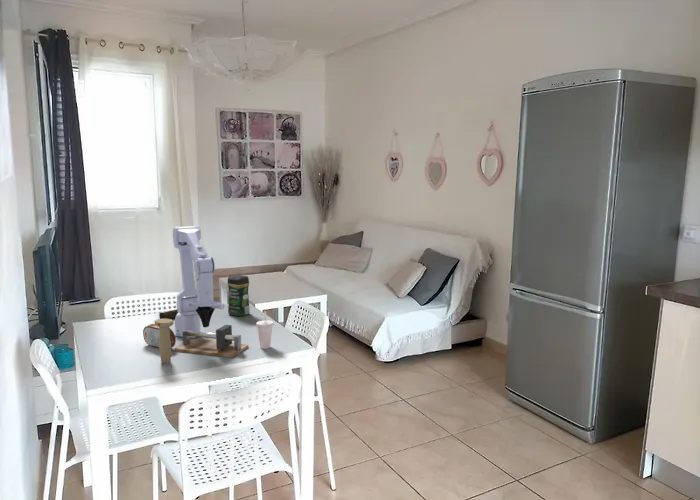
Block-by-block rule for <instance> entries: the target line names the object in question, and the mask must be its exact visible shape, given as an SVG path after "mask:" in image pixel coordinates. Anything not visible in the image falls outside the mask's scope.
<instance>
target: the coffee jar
mask: <svg viewBox="0 0 700 500" xmlns="http://www.w3.org/2000/svg"><path fill="white" fill-rule="evenodd" d="M249 286H250V278H249V276H247V275H242V274H235V273H234V274H231V275H228V277H227V288H228V304H227V305H228V306H227V307H228V308H227V311H228V312H227V313H228V314H229V315H231V316H235V317H244V316H245V317H246V316H248V315H249V314H250V313H251V312H250V311H251V310H250V301H249V300H250V299H249V298H250V297H249Z"/></svg>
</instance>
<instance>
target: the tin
mask: <svg viewBox="0 0 700 500" xmlns="http://www.w3.org/2000/svg"><path fill="white" fill-rule="evenodd" d="M142 335H143V340H144V341H145V343H146V345H148V346H149V347H153V348H158V349H159V327H158V326H156V325H155V323H151V324H148V325H146V326H145V327H144V328H143V330H142ZM170 339H171V349H172V348H173V347H174V346H175V345H176V341H177V339H176V336H175V333H174V330H172V329H171V328H170Z"/></svg>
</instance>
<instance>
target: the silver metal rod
mask: <svg viewBox="0 0 700 500" xmlns="http://www.w3.org/2000/svg"><path fill="white" fill-rule="evenodd" d="M190 336H194V337H195V338H204V339H213V340H214V339H215V340H216V332H215V333H214V332H206V331H205V332H198V331H190V330H187V329H186V330H184V331H183V337H182V344H183V345H187V344H189V343H190V340H191V337H190ZM225 340H231V341H232V342H233V343H234V350H236V351H238V350H240V349H241V344H242V335H241V334H236V335H234V334H232V335H226V334H225Z"/></svg>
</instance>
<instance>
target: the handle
mask: <svg viewBox="0 0 700 500" xmlns="http://www.w3.org/2000/svg"><path fill="white" fill-rule="evenodd" d="M154 324H155V325H156V326H158V327H159V348H158V350H159V357H160V362H161V363H162V364H163V365H164V364H170V363H171V362H172V358H171V357H172V348H171V339H170V329H171V328H170V327H172V326H173V325H174V320H173V319H172V318H170V319H160V318H158V319H155V320H154Z"/></svg>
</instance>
